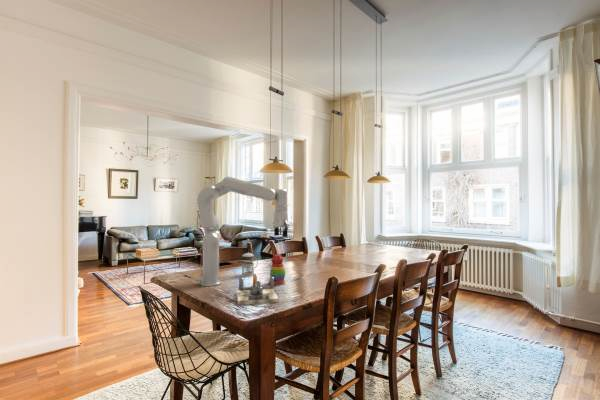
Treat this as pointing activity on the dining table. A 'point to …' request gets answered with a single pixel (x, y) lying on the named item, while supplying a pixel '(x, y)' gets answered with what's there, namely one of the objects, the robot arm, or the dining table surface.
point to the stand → (256, 297)
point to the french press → (248, 273)
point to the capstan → (256, 286)
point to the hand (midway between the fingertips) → (280, 236)
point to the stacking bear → (277, 270)
